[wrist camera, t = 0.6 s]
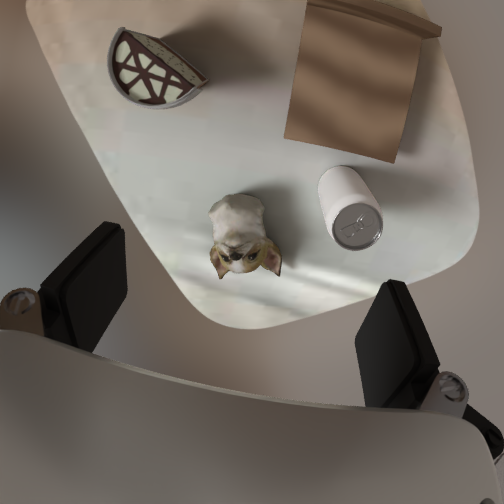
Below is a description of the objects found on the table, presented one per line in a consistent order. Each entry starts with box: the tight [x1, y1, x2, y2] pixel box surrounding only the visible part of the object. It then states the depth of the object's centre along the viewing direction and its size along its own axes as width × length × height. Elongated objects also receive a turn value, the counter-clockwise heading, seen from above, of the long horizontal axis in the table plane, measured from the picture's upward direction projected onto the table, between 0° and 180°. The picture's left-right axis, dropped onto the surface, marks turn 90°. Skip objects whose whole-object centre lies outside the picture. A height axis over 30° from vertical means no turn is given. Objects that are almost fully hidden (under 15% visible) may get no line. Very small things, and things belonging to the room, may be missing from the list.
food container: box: [107, 27, 209, 109], centre depth 31 cm, size 12×6×10 cm, turn 45°
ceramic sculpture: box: [208, 194, 282, 279], centre depth 43 cm, size 11×9×15 cm
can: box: [318, 166, 383, 251], centre depth 37 cm, size 6×6×12 cm
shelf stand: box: [284, 0, 442, 164], centre depth 30 cm, size 18×14×9 cm
